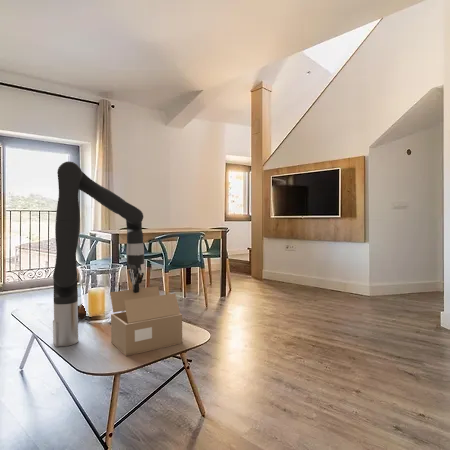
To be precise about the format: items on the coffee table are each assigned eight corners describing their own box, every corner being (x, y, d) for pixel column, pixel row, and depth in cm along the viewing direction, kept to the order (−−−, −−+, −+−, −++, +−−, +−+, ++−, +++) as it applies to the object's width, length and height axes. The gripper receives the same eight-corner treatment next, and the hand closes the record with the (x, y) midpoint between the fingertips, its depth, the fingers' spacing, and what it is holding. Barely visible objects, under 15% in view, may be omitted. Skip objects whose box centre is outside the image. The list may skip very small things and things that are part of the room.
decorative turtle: (67, 319, 184) (67, 303, 184) (95, 315, 194) (95, 300, 195) (74, 321, 177) (75, 305, 177) (103, 317, 187) (104, 302, 188)
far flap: (161, 304, 162) (161, 304, 162) (158, 286, 165) (157, 286, 165) (113, 312, 149) (113, 312, 150) (110, 292, 152) (110, 292, 153)
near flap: (128, 323, 135) (128, 322, 135) (123, 300, 138) (124, 300, 138) (179, 313, 147) (180, 313, 147) (174, 293, 151) (175, 293, 150)
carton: (126, 356, 134) (125, 324, 134) (111, 342, 149) (110, 314, 149) (182, 343, 148) (182, 314, 148) (163, 331, 163) (163, 305, 163)
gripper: (122, 253, 161) (123, 291, 161) (132, 255, 150) (133, 296, 150) (138, 252, 165) (138, 289, 165) (149, 253, 154) (150, 293, 154)
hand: (136, 292), depth 158 cm, fingers closed
